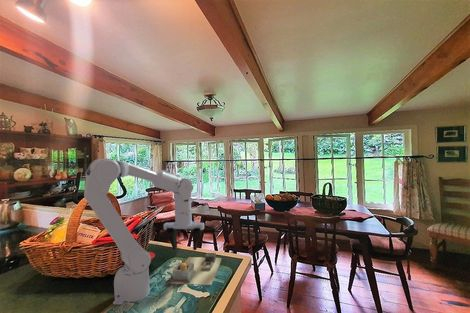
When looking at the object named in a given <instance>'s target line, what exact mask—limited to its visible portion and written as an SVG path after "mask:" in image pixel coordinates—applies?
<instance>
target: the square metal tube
mask: <svg viewBox="0 0 470 313" xmlns="http://www.w3.org/2000/svg"><path fill="white" fill-rule="evenodd" d="M182 263H183V262H178V263H177V264H176V266H175V267H174V268H173V270H172V279H173V280H188V281H189V279H190V278H191V276H192V274H193V272H194V263H185V262H184V263H185V264H186V265H187V270H180V265H181V264H182Z"/></svg>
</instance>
